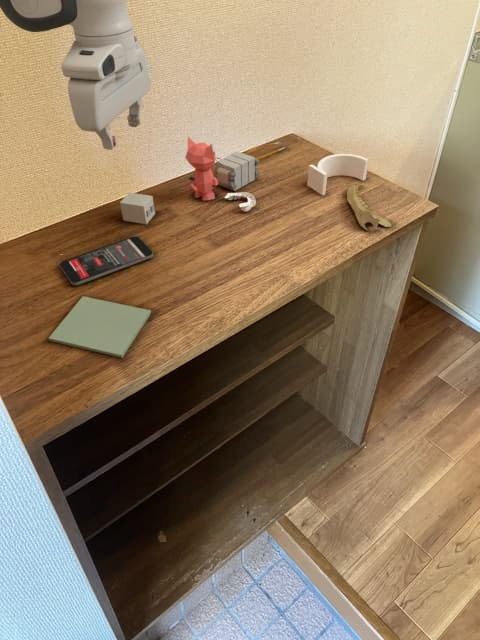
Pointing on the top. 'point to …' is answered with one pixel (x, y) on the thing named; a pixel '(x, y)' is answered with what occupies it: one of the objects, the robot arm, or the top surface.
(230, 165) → the electrical component
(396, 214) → the top surface
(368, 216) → the mandible
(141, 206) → the block
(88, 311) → the desk mat
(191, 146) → the cat figurine
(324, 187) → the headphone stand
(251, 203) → the dentures
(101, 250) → the smartphone
